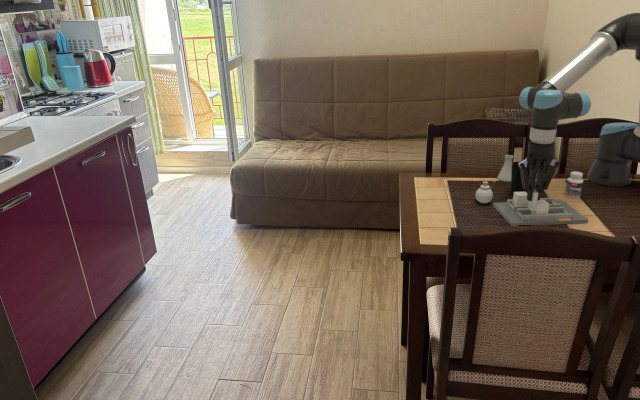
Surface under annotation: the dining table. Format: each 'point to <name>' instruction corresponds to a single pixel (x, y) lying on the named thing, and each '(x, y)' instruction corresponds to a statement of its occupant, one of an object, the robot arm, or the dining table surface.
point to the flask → (506, 169)
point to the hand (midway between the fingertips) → (531, 209)
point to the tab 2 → (541, 207)
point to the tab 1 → (520, 198)
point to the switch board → (556, 214)
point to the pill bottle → (574, 185)
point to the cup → (517, 178)
